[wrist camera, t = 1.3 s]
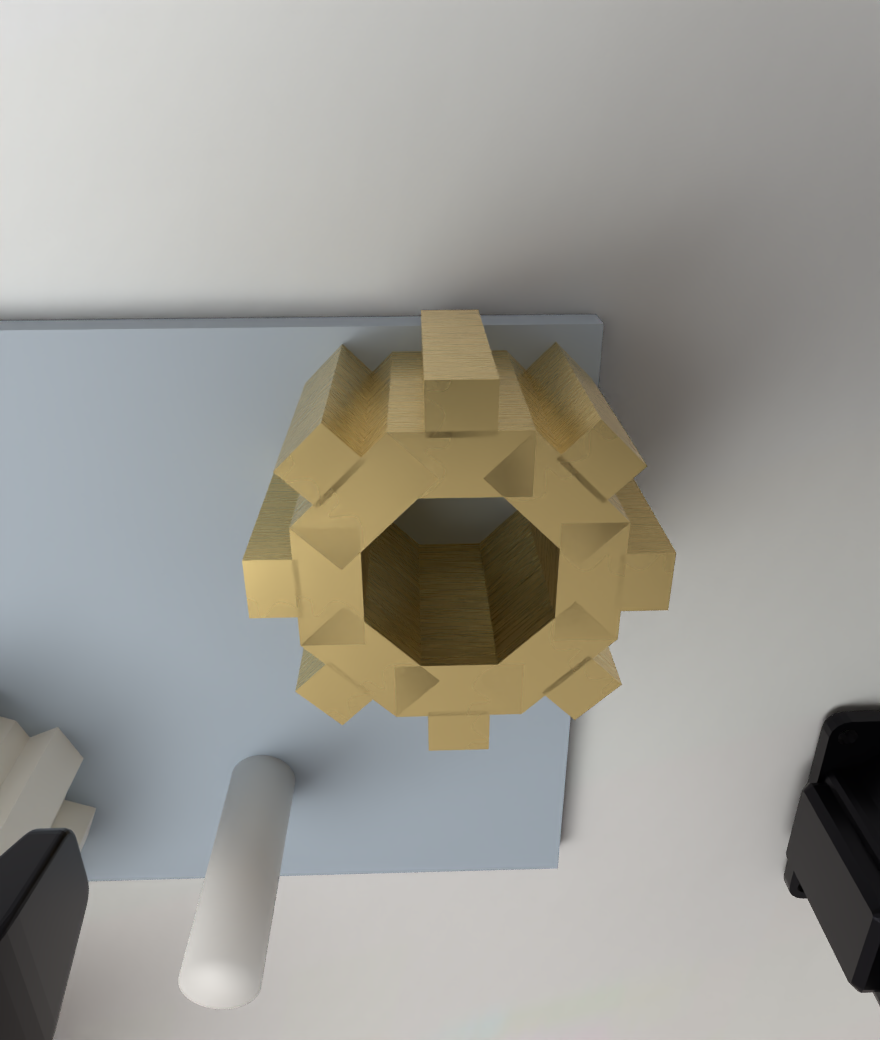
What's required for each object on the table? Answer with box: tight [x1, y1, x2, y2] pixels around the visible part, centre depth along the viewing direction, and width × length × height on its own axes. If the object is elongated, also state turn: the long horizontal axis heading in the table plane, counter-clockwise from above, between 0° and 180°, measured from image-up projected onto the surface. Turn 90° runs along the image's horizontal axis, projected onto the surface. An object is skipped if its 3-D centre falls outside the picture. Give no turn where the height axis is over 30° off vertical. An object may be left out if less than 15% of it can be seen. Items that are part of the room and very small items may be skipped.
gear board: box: [0, 314, 604, 1009], centre depth 17 cm, size 20×15×6 cm
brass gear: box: [242, 310, 676, 751], centre depth 16 cm, size 7×7×4 cm
